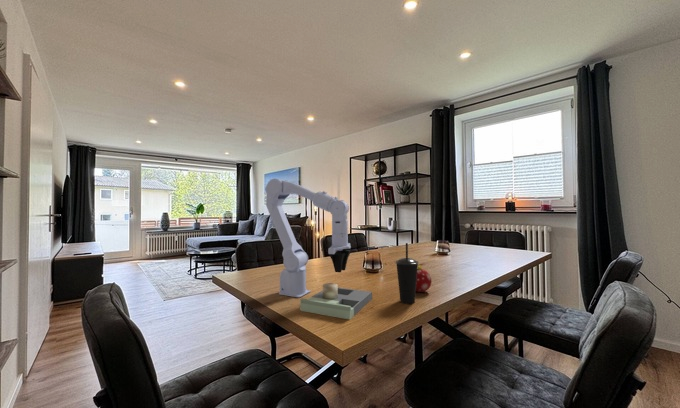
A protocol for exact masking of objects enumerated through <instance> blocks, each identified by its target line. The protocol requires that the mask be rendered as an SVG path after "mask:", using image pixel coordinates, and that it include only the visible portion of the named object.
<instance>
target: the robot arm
mask: <svg viewBox="0 0 680 408" xmlns="http://www.w3.org/2000/svg"><path fill="white" fill-rule="evenodd" d="M264 190H265V193H266V198H265V199H266V201H265V202H266V204H265V206H266V208H267V211H268V213H269V216H270V218H271V221H272V223H273V226H274V228H275V231H276V233H277V235H278V238H279V240H280V243H281V245H282V248H283V249H282V252H281V253H282V254H281V255H282V258H283V261H282V262H283V267H284V269H282V271H281V272H280V275H279V292H278V295H280V296H288V297H291V298H292V297H294V298H301V297H304V296H305V295H308V294H309V293H311V289H307V274H306V273H307V268H306V265H307V264H308V262H309V255H308V254H307V252H305V250H304V249H303V247H302V245H300V244H299V243H298V242H297V240H296V237H295V234H294V233H293V230H292V228H291V227H292V226H291V225H290V223H289V221H288V218H287V216H286V214H285V211H284V208H283V204H284V202H285V201H286V199H287V198H288V197H290V195H297V196H300V197H302V198H305V199H308V200H309V201H311V202H312V204H313V206H314V207H317V208H319V209H321V210H324V211H326V212H328V213H330V214H331V246H330V247H329V248H328V251H327V252H328V255H329V257H330V260H331V262H332V264H333V268H334V272H335V273H342V271H346V269H347V264H348V259H349V257H350V254H351V253H352V251H351V248H352V246H351V243H350V242H349V239H348V237H349V236H348V235H349V234H348V233H349V231H348V228H349V227H348V226H349V225H348V212H349V210H350V207H349V204H348V203H347V202H346V201H345V200H343V199H340V200H339V198H338V197H337V196H331V195H330V194H328V192H326V191H324V190H323V191H318V192H314V191H312V190H311V189H308V188H306V187H304V186H302V185H301V184H298V183H295V182H291V181H288V180H286V179H285V180H283V179H278V178H272V179H270V180H269V181H268V182H267V184H266V186H265V187H264Z"/></svg>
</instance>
